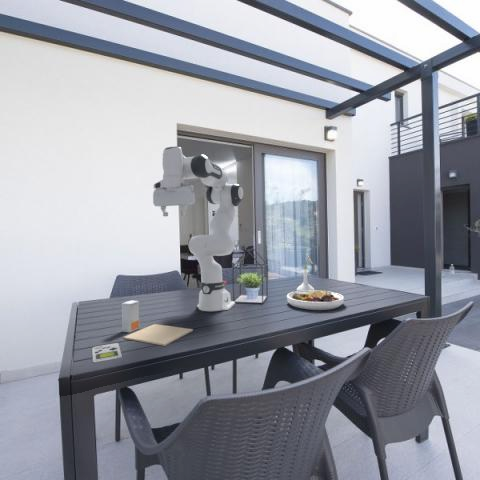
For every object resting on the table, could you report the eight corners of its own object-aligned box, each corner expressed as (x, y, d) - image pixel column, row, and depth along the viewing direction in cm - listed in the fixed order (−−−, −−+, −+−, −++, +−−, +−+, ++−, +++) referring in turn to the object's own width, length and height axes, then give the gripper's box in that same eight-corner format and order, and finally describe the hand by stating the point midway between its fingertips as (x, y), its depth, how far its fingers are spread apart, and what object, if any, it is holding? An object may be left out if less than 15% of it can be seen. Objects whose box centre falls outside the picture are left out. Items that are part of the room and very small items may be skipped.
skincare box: (130, 332, 129) (129, 304, 129) (121, 331, 131) (121, 303, 130) (139, 328, 135) (139, 300, 134) (131, 327, 136) (130, 300, 136)
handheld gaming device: (118, 342, 118) (122, 356, 104) (118, 344, 118) (122, 358, 104) (92, 346, 114) (92, 361, 100) (92, 348, 114) (92, 364, 100)
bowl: (277, 301, 181) (277, 287, 181) (323, 296, 190) (323, 284, 190) (304, 314, 152) (304, 298, 152) (355, 308, 162) (355, 293, 161)
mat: (154, 325, 139) (154, 323, 139) (192, 330, 130) (192, 329, 130) (123, 338, 123) (123, 337, 123) (164, 345, 114) (164, 344, 114)
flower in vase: (310, 294, 195) (310, 254, 194) (293, 293, 201) (293, 254, 200) (317, 291, 206) (317, 253, 205) (301, 289, 212) (301, 252, 211)
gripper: (197, 183, 135) (198, 215, 136) (159, 186, 144) (160, 216, 144) (189, 181, 129) (190, 214, 130) (150, 185, 138) (151, 216, 139)
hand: (174, 216), depth 137 cm, fingers open, 8 cm apart
